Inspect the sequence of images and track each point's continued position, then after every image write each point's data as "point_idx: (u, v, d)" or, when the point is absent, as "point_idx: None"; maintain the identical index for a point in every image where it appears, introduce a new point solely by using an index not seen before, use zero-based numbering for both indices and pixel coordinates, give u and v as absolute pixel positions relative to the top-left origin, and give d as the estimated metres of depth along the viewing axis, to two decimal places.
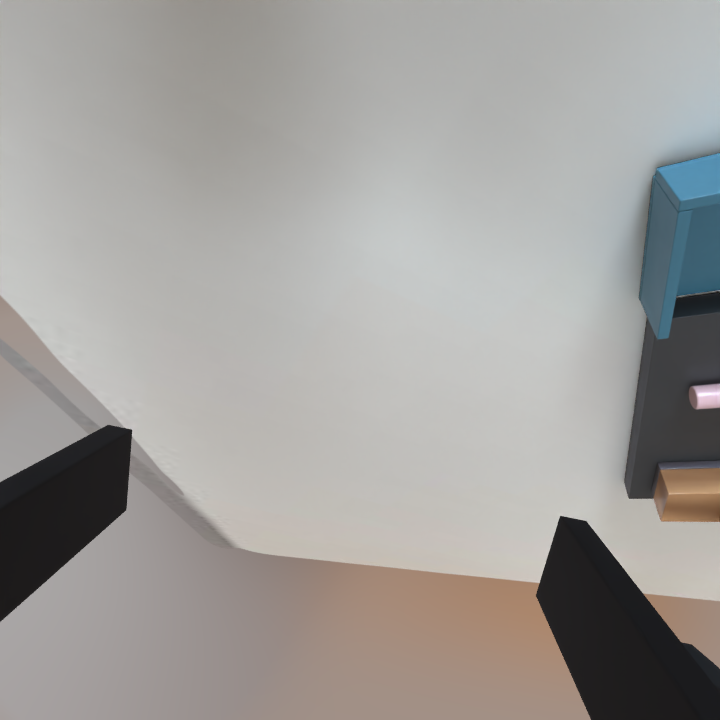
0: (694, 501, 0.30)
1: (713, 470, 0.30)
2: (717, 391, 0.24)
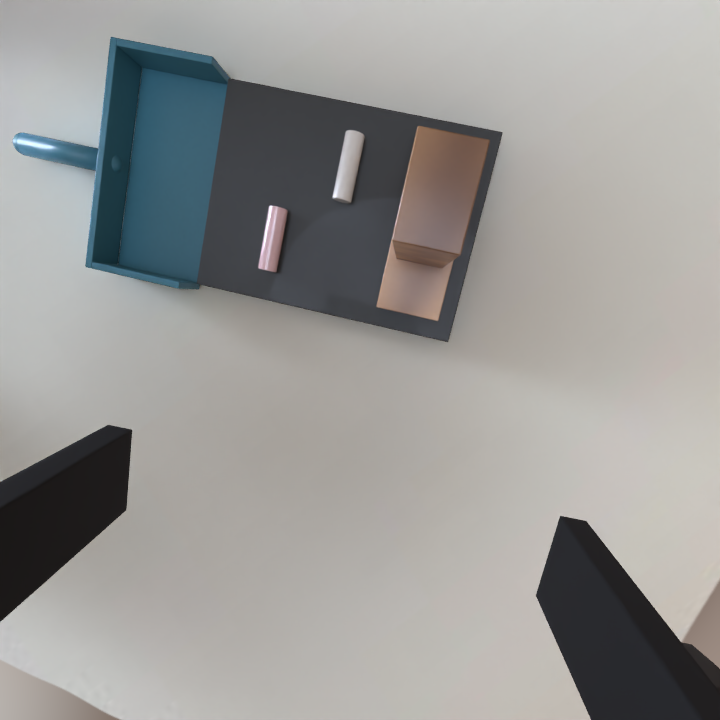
0: (397, 286, 0.30)
1: None
2: None
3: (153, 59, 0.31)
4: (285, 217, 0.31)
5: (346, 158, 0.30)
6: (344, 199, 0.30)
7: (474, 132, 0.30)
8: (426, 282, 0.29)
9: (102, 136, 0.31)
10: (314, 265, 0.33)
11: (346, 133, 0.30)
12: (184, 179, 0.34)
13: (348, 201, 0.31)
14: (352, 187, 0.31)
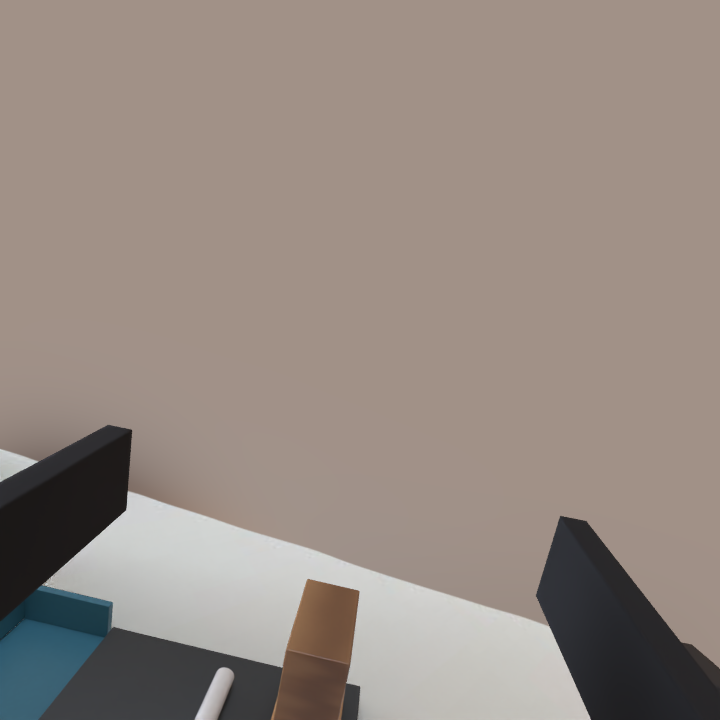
0: None
1: None
2: None
3: (49, 604, 0.34)
4: None
5: (213, 691, 0.29)
6: None
7: None
8: None
9: None
10: None
11: (217, 671, 0.31)
12: None
13: None
14: None
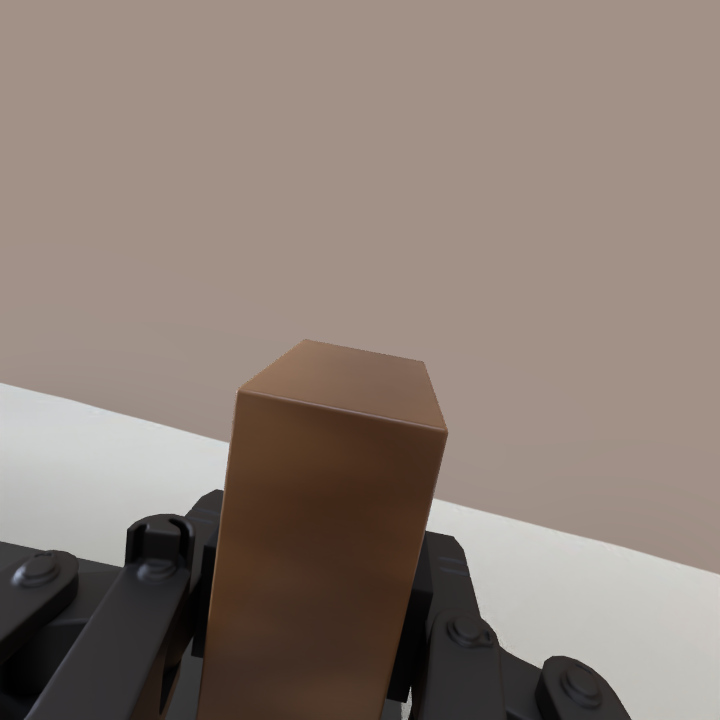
0: None
1: None
2: None
3: None
4: None
5: None
6: None
7: None
8: None
9: None
10: None
11: None
12: None
13: None
14: None
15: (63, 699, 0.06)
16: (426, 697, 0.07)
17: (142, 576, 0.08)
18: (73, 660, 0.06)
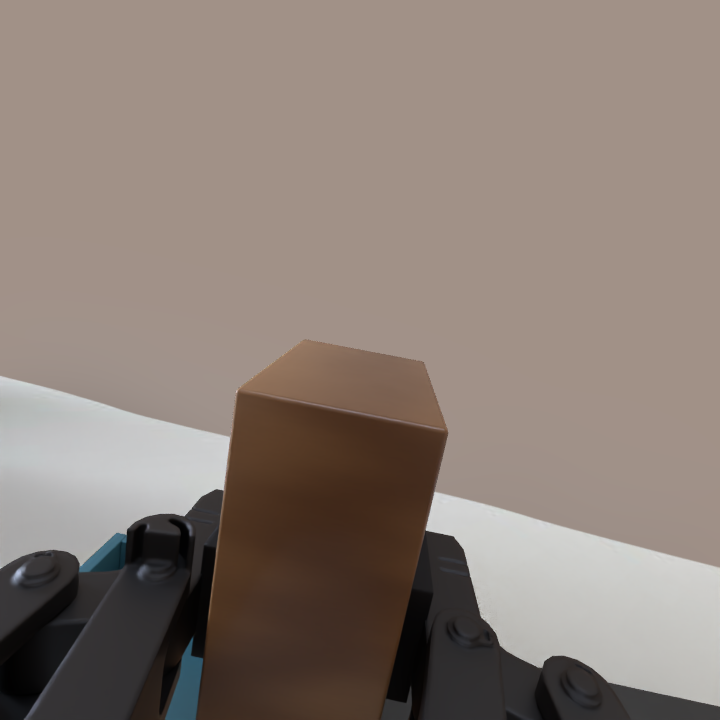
0: None
1: None
2: None
3: None
4: None
5: None
6: None
7: (710, 711, 0.18)
8: None
9: None
10: None
11: None
12: None
13: None
14: None
15: (63, 699, 0.06)
16: (426, 697, 0.07)
17: (142, 575, 0.08)
18: (73, 660, 0.06)
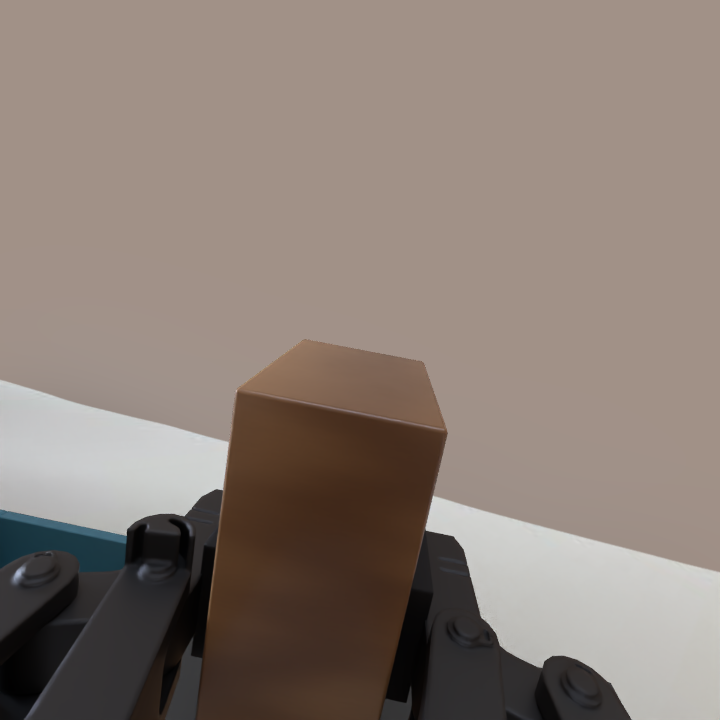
0: None
1: None
2: None
3: (43, 548, 0.19)
4: None
5: None
6: None
7: None
8: None
9: None
10: None
11: None
12: None
13: None
14: None
15: (63, 699, 0.06)
16: (426, 697, 0.07)
17: (141, 575, 0.08)
18: (73, 660, 0.06)
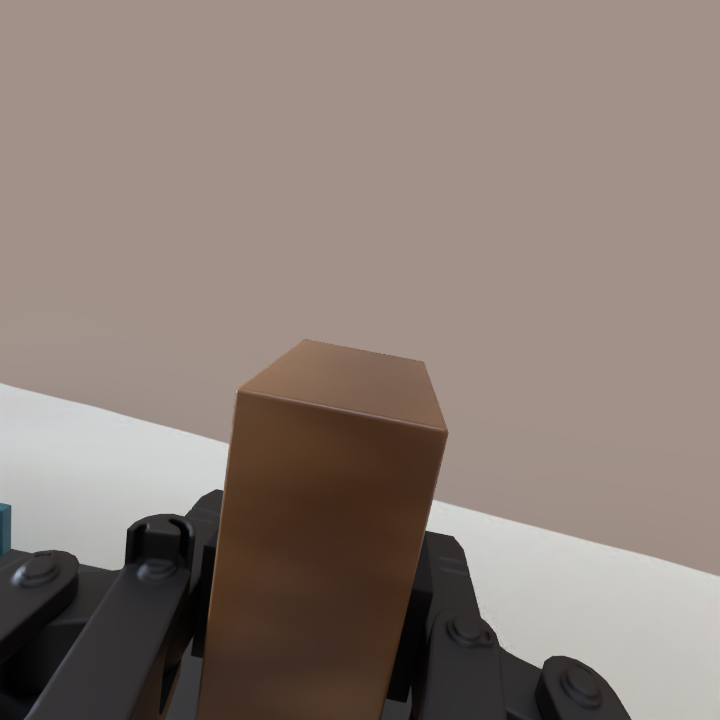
0: None
1: None
2: None
3: None
4: None
5: None
6: None
7: None
8: None
9: None
10: None
11: None
12: None
13: None
14: None
15: (63, 699, 0.06)
16: (426, 697, 0.07)
17: (142, 575, 0.08)
18: (73, 660, 0.06)
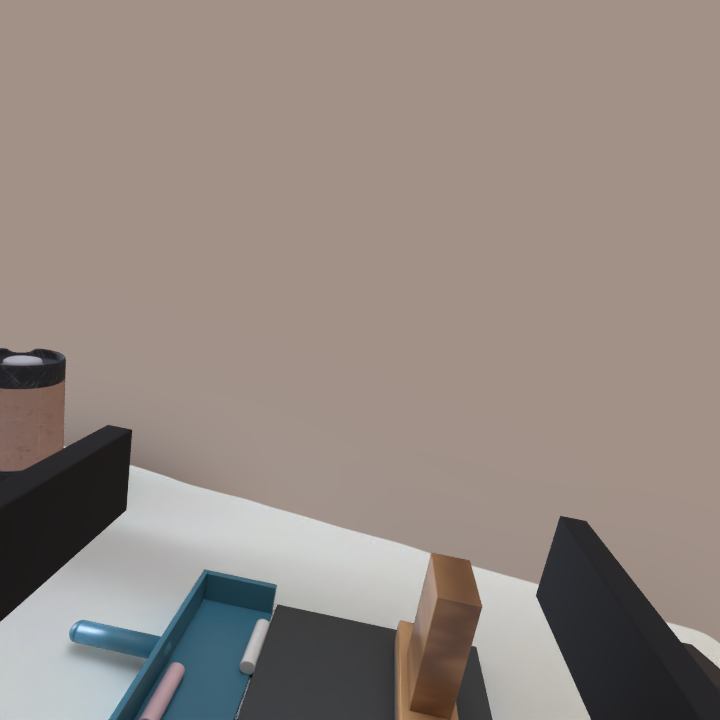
0: None
1: None
2: (152, 704, 0.32)
3: (226, 587, 0.43)
4: None
5: None
6: (244, 672, 0.37)
7: None
8: None
9: (174, 621, 0.37)
10: None
11: None
12: (219, 675, 0.36)
13: (241, 669, 0.37)
14: None
15: None
16: None
17: None
18: None
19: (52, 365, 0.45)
